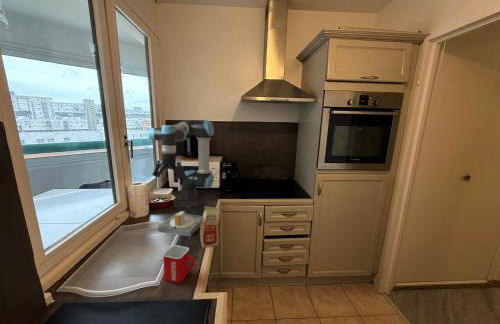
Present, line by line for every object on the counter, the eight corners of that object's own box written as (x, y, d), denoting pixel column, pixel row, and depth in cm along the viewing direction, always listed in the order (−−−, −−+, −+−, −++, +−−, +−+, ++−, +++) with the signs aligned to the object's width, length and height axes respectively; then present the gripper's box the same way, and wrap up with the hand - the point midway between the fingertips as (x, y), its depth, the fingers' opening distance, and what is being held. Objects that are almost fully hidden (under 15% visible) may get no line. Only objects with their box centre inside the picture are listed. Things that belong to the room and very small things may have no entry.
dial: (178, 216, 140) (178, 205, 139) (199, 219, 137) (199, 208, 136) (164, 226, 125) (164, 214, 124) (188, 230, 122) (188, 218, 121)
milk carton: (202, 247, 110) (202, 210, 106) (199, 238, 118) (199, 204, 115) (220, 244, 113) (220, 208, 110) (215, 236, 122) (216, 202, 118)
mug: (161, 280, 86) (160, 255, 84) (173, 267, 94) (173, 244, 92) (189, 286, 83) (188, 261, 82) (198, 272, 91) (198, 249, 90)
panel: (176, 217, 143) (176, 212, 142) (205, 221, 139) (205, 215, 139) (158, 231, 124) (158, 225, 123) (190, 236, 120) (190, 230, 119)
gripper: (145, 151, 121) (146, 188, 125) (185, 154, 116) (185, 192, 119) (153, 150, 129) (154, 185, 132) (192, 153, 124) (192, 189, 127)
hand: (169, 189), depth 126 cm, fingers open, 13 cm apart
